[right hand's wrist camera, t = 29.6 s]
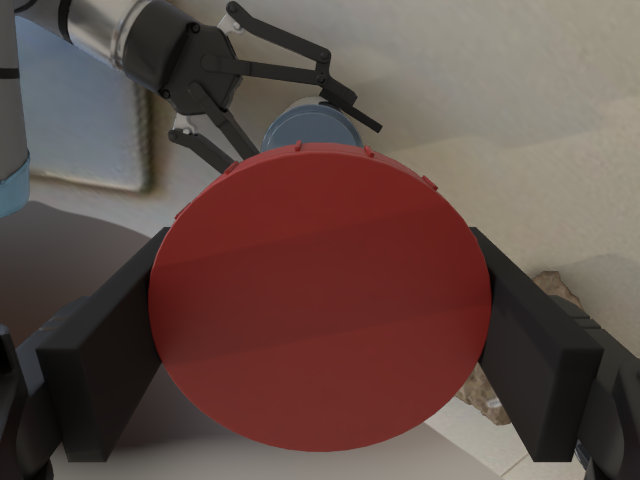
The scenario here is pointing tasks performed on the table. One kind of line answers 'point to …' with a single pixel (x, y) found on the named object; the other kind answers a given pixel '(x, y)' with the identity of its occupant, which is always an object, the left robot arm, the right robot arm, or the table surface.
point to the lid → (319, 298)
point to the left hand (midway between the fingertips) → (354, 166)
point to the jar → (311, 125)
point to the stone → (477, 384)
